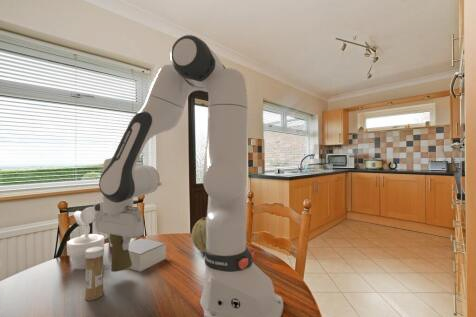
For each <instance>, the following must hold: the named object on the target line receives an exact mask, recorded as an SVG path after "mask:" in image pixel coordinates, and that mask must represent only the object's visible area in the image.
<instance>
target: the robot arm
mask: <svg viewBox="0 0 476 317" xmlns="http://www.w3.org/2000/svg"><path fill="white" fill-rule="evenodd" d="M169 60H170V63H171V64H164V65H163V66H162V67H160V69H159V70H158V72H157V73H156V75H155V78H154V80H153V81H152V83H151V86H150V89H149V90H148V91H149V92H148V94H147V97H146V100H145V102H144V104H143V106H142V108H141V109H140V110H139V111H138V112H137V113H135V114H134V115H133V117H132V118H131V120H130V121H129V123H128V125H127V126H126V128H125V131H124V133H123V135H122V136H121V139H120V141H119V144H118V145H117V148H116V150H115V152H114V154H113V155H112V156H110V157H107V158H105V160H104V161H103V164H102V171H101V175H100V177H99V181H98V188H99V190H100V192H101V194H102V201H99V203H97V202H96V203H95V204H93V206H94V211H95V219H94V226H95V231H96V232H98V233H103V234H106V235H107V239H108V241H109V246H110V248H112V244H111V242H110V237H111V236H112V235H118V236H123V240H124V241H123V244H121V248H122V250H127V249H128V248H129V242H131V240H132V239H137V238H138V239H139V237H142V236H143V235H144V234H145V223H144V218H143V215H142V212H141V210H140V208H138V207H136V206H134V199H135V198H137V197H142V196H145V195H149V194H152V193H153V192H155V191H157V189H158V187H159V185H160V175H159V174H160V173H159V172H158V171H157V169H156V168H155V167H154V166H151V165H148V164H144V163H140V162H139V159H140V158H141V154H142V152H143V151H144V148H145V146H146V144H147V143H148V142H149V140H150V139H153V137H155V136H157V135H159V134H161V133H165V132H168V131H171V130H172V129H174V128H175V127H177V125H178V124H179V122H180V120H181V118H182V116H183V112H184V110H185V106H186V103H187V100H188V98H189V96H190V94H191V93H193V92H195V94H196V95H208V103H207V104H208V106H207V131H206V133H207V135H206V146H205V150H204V151H205V152H204V153H205V154H204V164H203V175H202V183H203V184H202V185H203V187H204V190H205V192H206V193H207V195H208V196H207V210H206V217H207V218H206V248H205V252H204V264H205V274H204V275H205V276H204V281H203V288H202V293H201V297H200V300H199V302H200V306H201V308H202V310H203V317H282V314H283V311H284V300H283V297H282V296H281V295H278V294H277V293H275V287H274V283H273V280H272V279H271V278H270V277H269V276H268V275H267V274H266V273H265V272H263V270H262V269H260V268H259V267H258V266H257V265H256V264H255V263H254V262H253V257H255V250H253V251H252V252H250V250H249V249H248V247H247V212H246V210H247V209H246V186H247V182H248V181H247V178H248V176H247V175H248V173H247V172H248V161H247V160H248V152H247V151H248V106H249V105H248V102H249V101H248V91H247V90H248V89H247V84H246V79H245V76H244V74H243V73H242V72H241V71H239V70H238V69H235V68H232V67H231V68H229V67H227V68H226V67H225V65H224V63H222V61H221V60H220V58H219V57H218V55H217V54H216V53H215V51H213V50H212V49H211V48H210V47H209V46H208V45H207V43H206V42H205V41H203V40H202V39H200V38H199V37H197V36H195V35H192V34H187V35H183V36H181V37H179V38H177V40H176V41H175V42H174V43H173V45H172V47H171V49H170V54H169Z"/></svg>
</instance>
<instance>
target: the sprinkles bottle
mask: <svg viewBox="0 0 476 317" xmlns="http://www.w3.org/2000/svg"><path fill="white" fill-rule="evenodd" d="M104 255H105V246H104V247H101V246H98V247H92V248H89V249H87V250H86V251H85V258H86V269H85V283H84V284H85V296H84V297H85V300H87V301H95V300H97V299H99V298H101V297H102V296H103V295H104V293H105V291H104Z"/></svg>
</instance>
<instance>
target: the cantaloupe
mask: <svg viewBox="0 0 476 317" xmlns="http://www.w3.org/2000/svg"><path fill="white" fill-rule="evenodd" d="M206 218H207V216H205V217H204V216H203V217H201V218H200V219H199V220H197V221H196V222H195V223H194V225H193V227H192V229H191V240H192V243H193V245H194V247H195V248H196V249H197V250H198V251H200V252H201V253H202V252H203V253H205V248H206Z"/></svg>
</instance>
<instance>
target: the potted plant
mask: <svg viewBox="0 0 476 317" xmlns="http://www.w3.org/2000/svg"><path fill="white" fill-rule="evenodd" d="M99 202H100V199H98V201H97V202H96V204H97V203H99ZM95 212H96V211H94V205H93V206H88V207H86V208H84V209H83V210H82V211H80V210H76V211H75V212H74V213H73V217H74V219H75V222H76V224H77V225H79V226H80V227H81V226H84V234H81V235H80V236H76V237H73V238H70V240H67V241H66V256H69V257H70V259H71V261H72V263H73V264H72V265H73V266H74V268H75V269H77V270H79V271H80V270H86V258H85V251H86V250H87V249H89V248H92V247H98V246H101V247H104V248H105V236H104V235H102V234H97V233H90V232H91V231H90V230H91V226H90V224H91V223H93V222H95Z"/></svg>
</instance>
